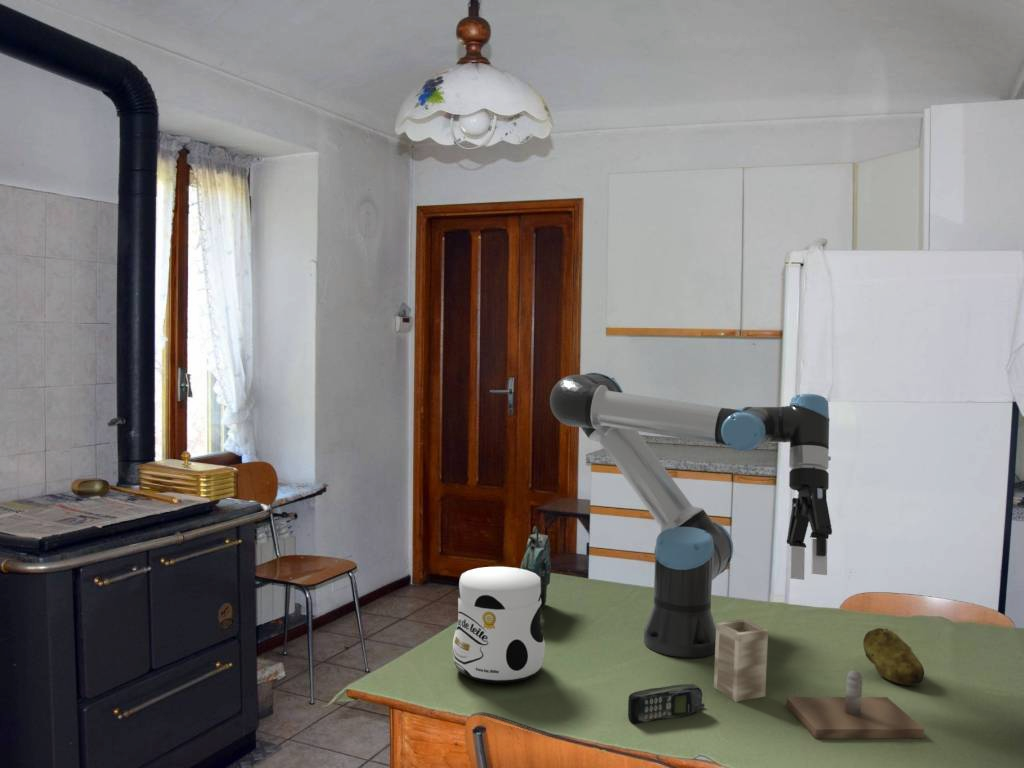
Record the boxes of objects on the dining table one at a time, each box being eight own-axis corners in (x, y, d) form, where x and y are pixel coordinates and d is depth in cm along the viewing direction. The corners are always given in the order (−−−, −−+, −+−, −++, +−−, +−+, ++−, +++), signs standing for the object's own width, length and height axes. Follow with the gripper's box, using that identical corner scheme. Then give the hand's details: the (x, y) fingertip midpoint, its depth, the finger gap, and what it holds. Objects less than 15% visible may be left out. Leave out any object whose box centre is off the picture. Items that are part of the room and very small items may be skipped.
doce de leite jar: (436, 681, 155) (438, 584, 154) (473, 649, 171) (475, 560, 170) (526, 698, 149) (529, 597, 148) (555, 662, 165) (558, 571, 164)
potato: (882, 689, 156) (884, 646, 156) (856, 662, 169) (858, 622, 169) (928, 691, 156) (930, 648, 156) (898, 663, 169) (901, 624, 168)
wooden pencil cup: (736, 701, 149) (739, 634, 149) (713, 687, 155) (716, 623, 154) (765, 696, 152) (768, 630, 151) (741, 682, 158) (744, 619, 157)
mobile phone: (633, 698, 139) (711, 684, 144) (624, 690, 142) (701, 677, 147) (633, 727, 139) (711, 712, 145) (624, 719, 142) (700, 705, 148)
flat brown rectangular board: (815, 738, 136) (817, 685, 136) (786, 705, 148) (788, 656, 148) (923, 738, 137) (926, 685, 137) (886, 705, 149) (889, 657, 149)
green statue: (527, 600, 203) (530, 517, 201) (554, 603, 201) (557, 519, 200) (511, 628, 183) (513, 537, 182) (540, 631, 182) (543, 539, 181)
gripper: (850, 459, 160) (850, 574, 154) (808, 482, 184) (806, 582, 178) (809, 455, 161) (808, 569, 155) (773, 479, 184) (770, 578, 178)
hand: (807, 576), depth 166 cm, fingers open, 13 cm apart
